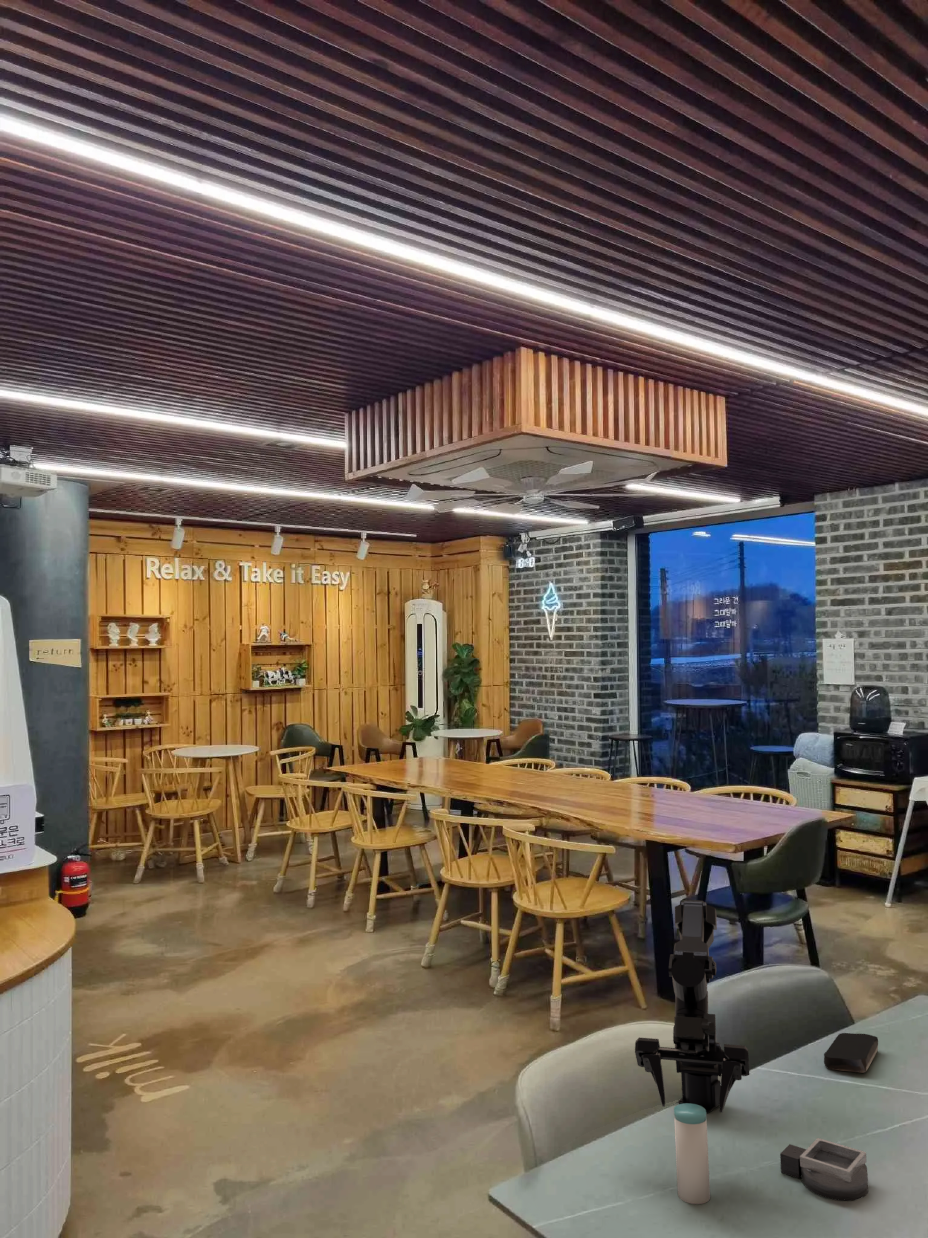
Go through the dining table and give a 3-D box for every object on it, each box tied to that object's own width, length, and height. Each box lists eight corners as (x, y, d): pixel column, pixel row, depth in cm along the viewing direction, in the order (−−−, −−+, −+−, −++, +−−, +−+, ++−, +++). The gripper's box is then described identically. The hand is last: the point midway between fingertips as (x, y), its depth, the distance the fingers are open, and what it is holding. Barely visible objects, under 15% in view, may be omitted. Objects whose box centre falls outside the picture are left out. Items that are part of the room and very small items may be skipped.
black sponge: (865, 1080, 187) (864, 1061, 187) (822, 1071, 192) (821, 1053, 192) (880, 1053, 200) (879, 1035, 201) (839, 1045, 205) (839, 1028, 205)
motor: (773, 1180, 150) (772, 1151, 150) (797, 1155, 157) (796, 1128, 158) (856, 1208, 141) (854, 1177, 142) (877, 1181, 149) (875, 1152, 149)
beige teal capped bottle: (672, 1197, 146) (668, 1112, 147) (687, 1183, 149) (683, 1100, 150) (701, 1208, 142) (697, 1121, 143) (715, 1194, 146) (711, 1109, 147)
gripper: (633, 990, 160) (629, 1081, 149) (745, 997, 155) (750, 1092, 144) (639, 1021, 167) (636, 1111, 156) (747, 1028, 162) (751, 1122, 151)
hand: (691, 1108), depth 151 cm, fingers open, 9 cm apart
